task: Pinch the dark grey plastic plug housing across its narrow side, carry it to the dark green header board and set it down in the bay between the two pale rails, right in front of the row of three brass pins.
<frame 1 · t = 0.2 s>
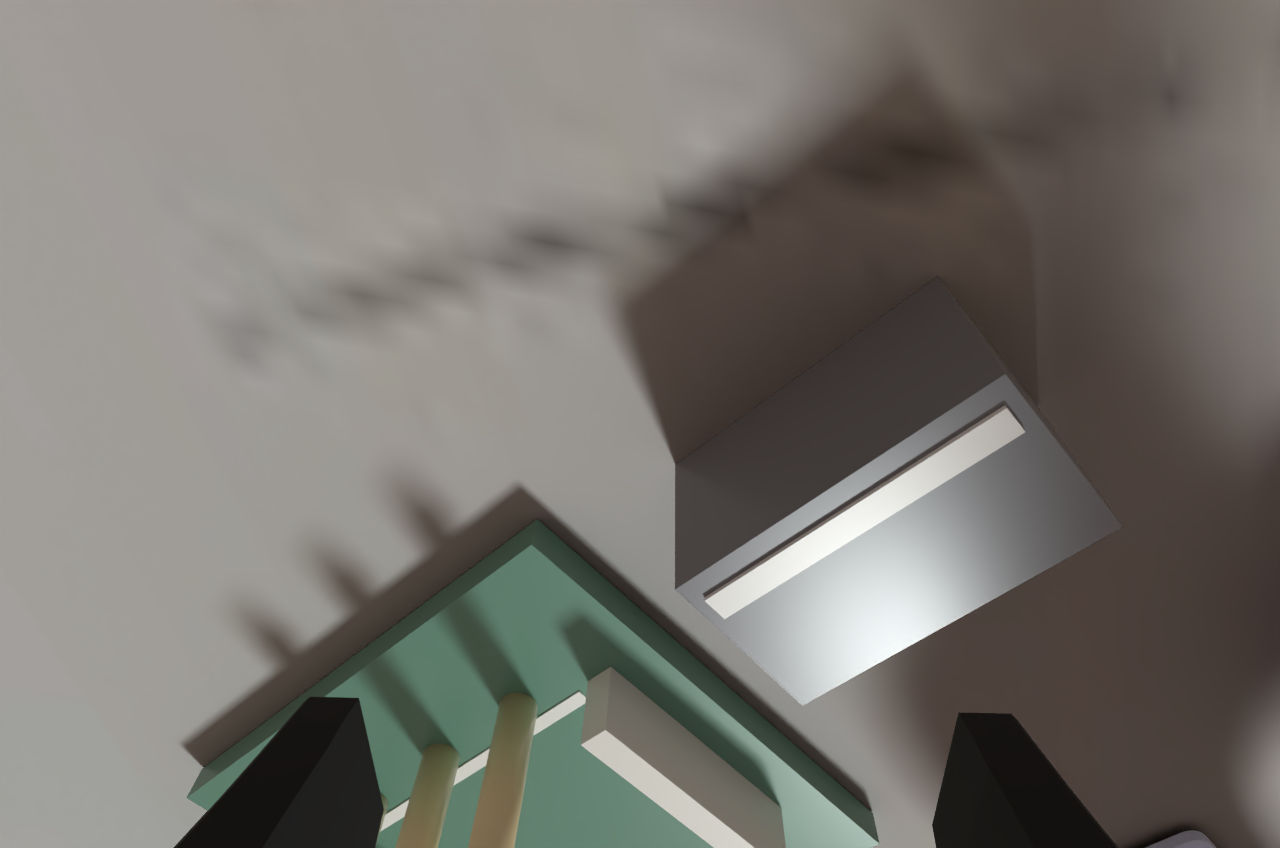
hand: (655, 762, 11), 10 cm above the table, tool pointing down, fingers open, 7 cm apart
header board: (537, 791, 27), on the table
plug housing: (851, 433, 20), on the table
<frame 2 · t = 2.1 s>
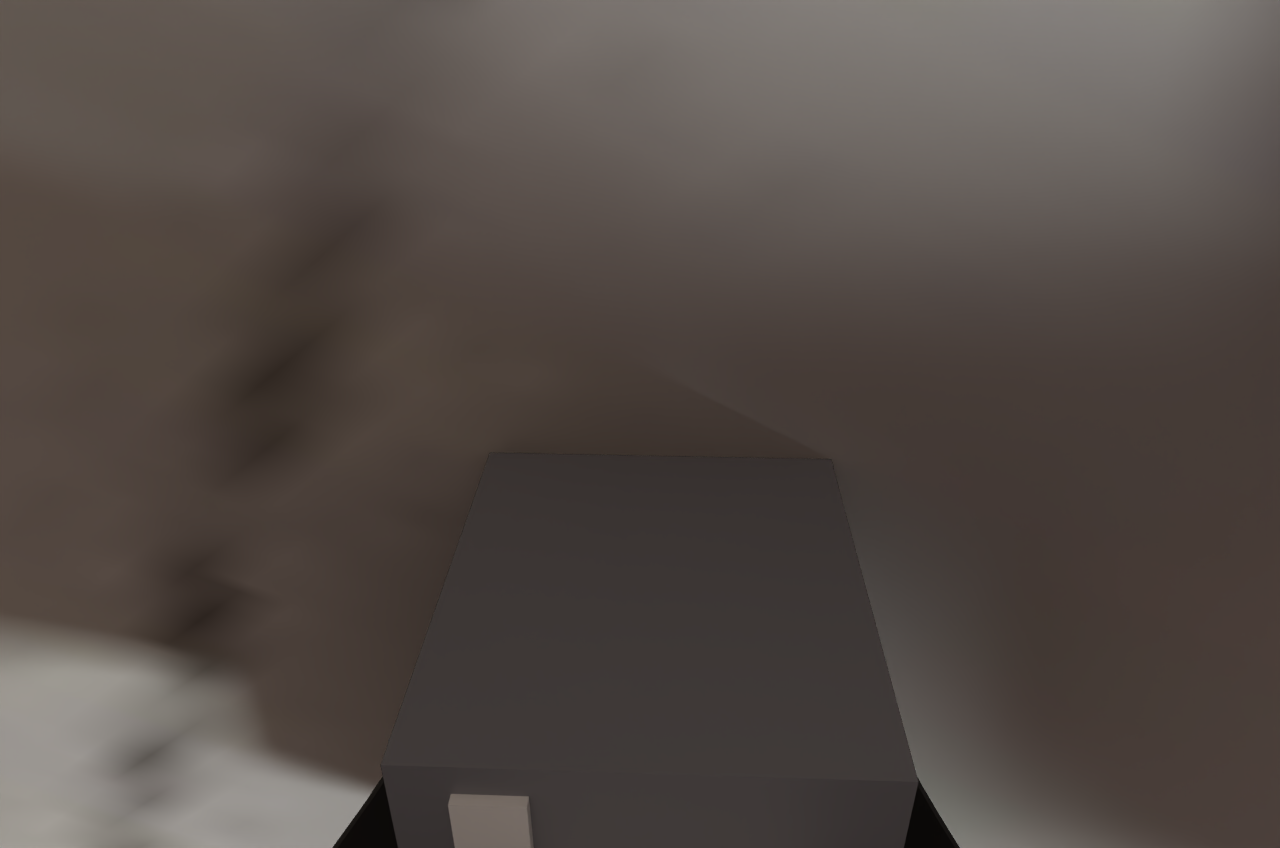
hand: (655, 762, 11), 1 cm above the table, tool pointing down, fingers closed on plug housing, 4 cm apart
plug housing: (657, 673, 12), on the table, touching gripper
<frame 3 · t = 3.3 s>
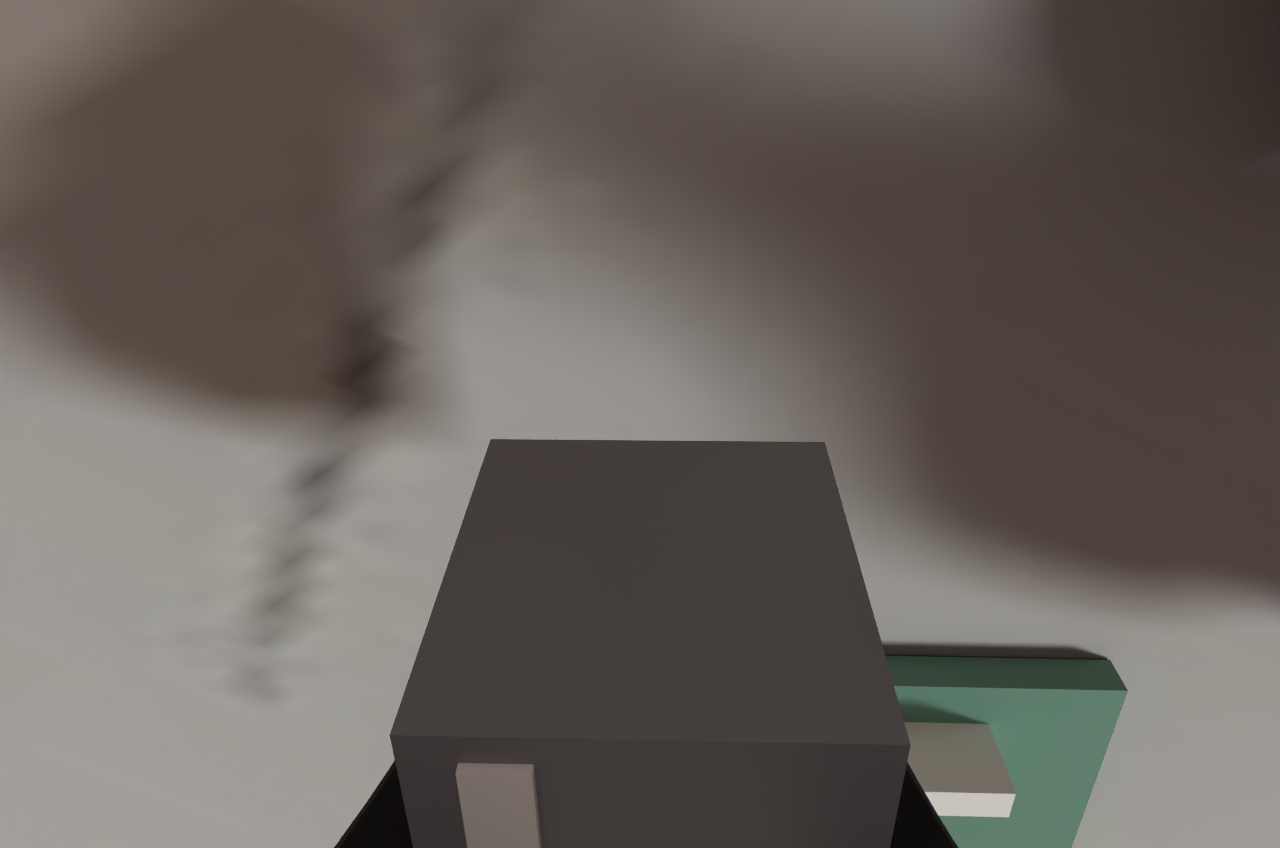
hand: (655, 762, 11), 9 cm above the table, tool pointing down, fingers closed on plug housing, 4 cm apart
header board: (799, 836, 26), on the table
plug housing: (656, 657, 13), point 7 cm above the table, touching gripper
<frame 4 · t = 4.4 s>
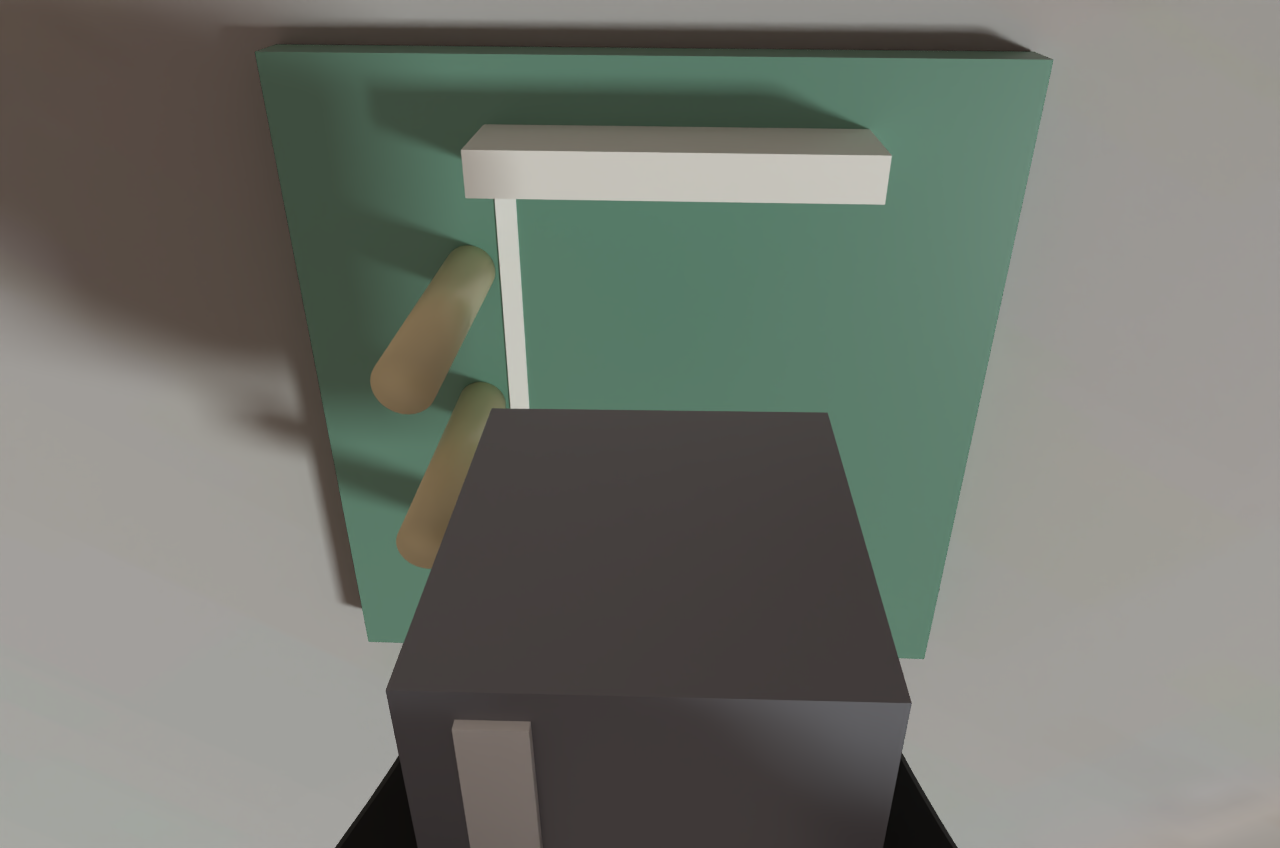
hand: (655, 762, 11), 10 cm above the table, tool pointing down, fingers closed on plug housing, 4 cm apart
header board: (647, 384, 20), on the table
plug housing: (657, 631, 13), point 9 cm above the table, touching gripper
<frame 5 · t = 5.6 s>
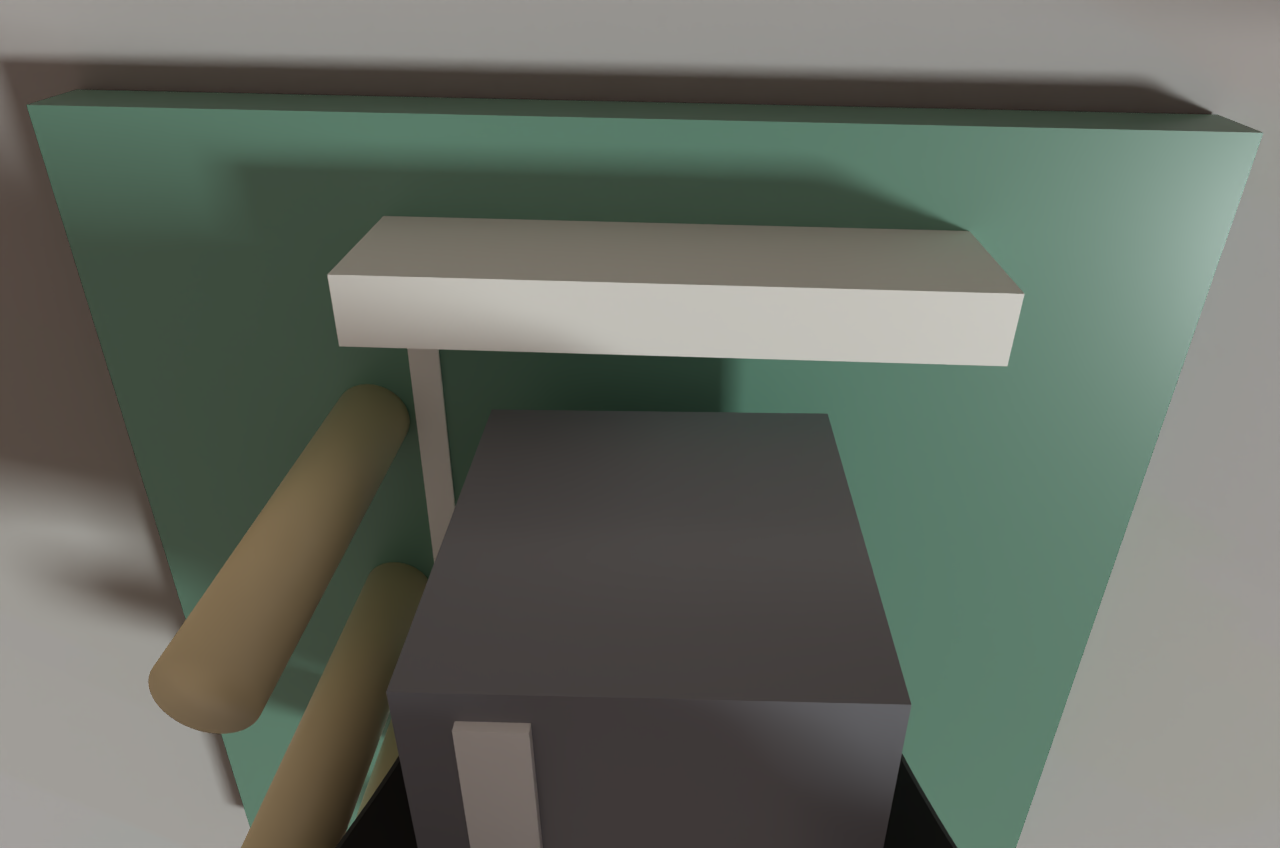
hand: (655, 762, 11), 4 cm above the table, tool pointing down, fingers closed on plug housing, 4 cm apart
header board: (631, 555, 15), on the table
plug housing: (657, 632, 13), point 2 cm above the table, touching gripper
when the fingers open (3 cm above the table, at t = 6.6 s): plug housing stays where it is, resting on header board.
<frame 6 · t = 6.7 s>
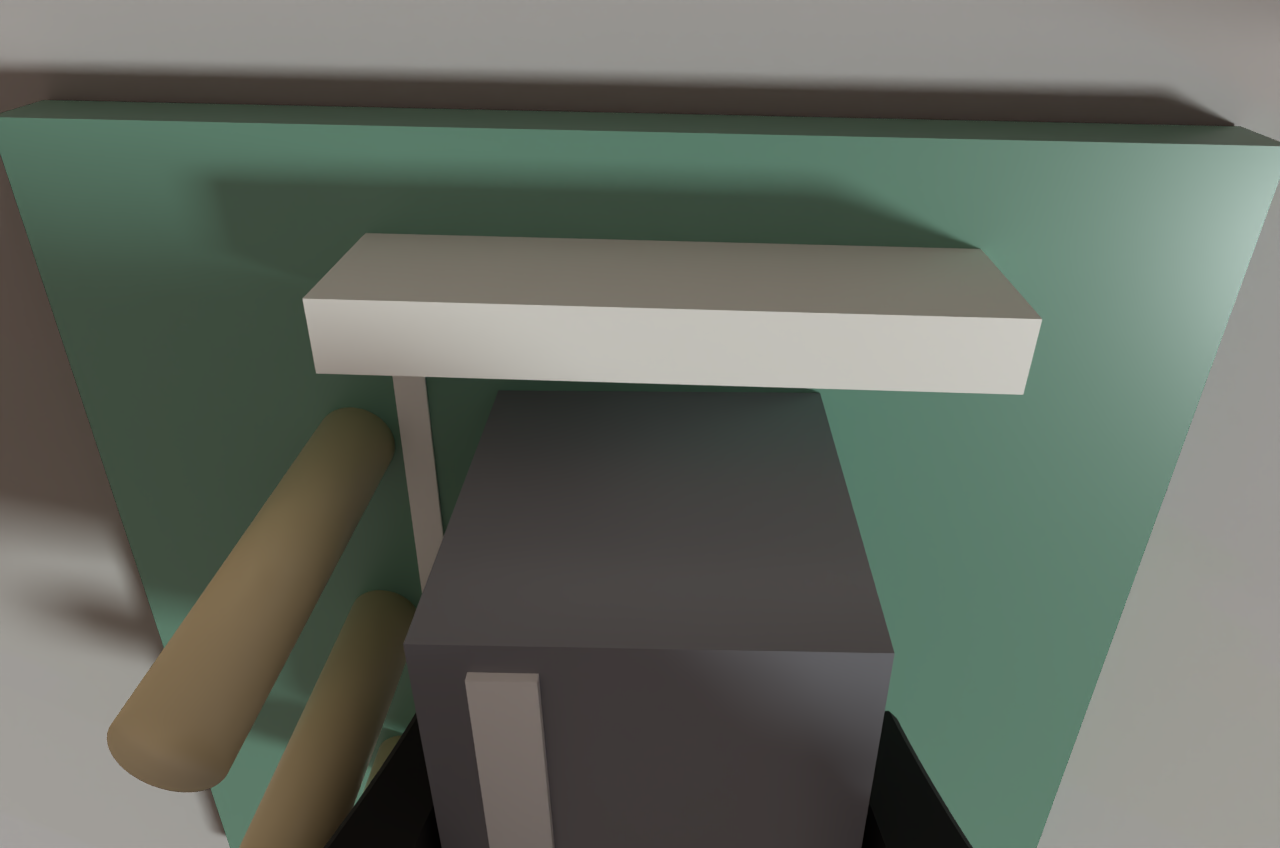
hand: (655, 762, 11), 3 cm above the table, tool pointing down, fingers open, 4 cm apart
header board: (627, 581, 14), on the table
plug housing: (658, 607, 13), point 1 cm above the table, touching header board
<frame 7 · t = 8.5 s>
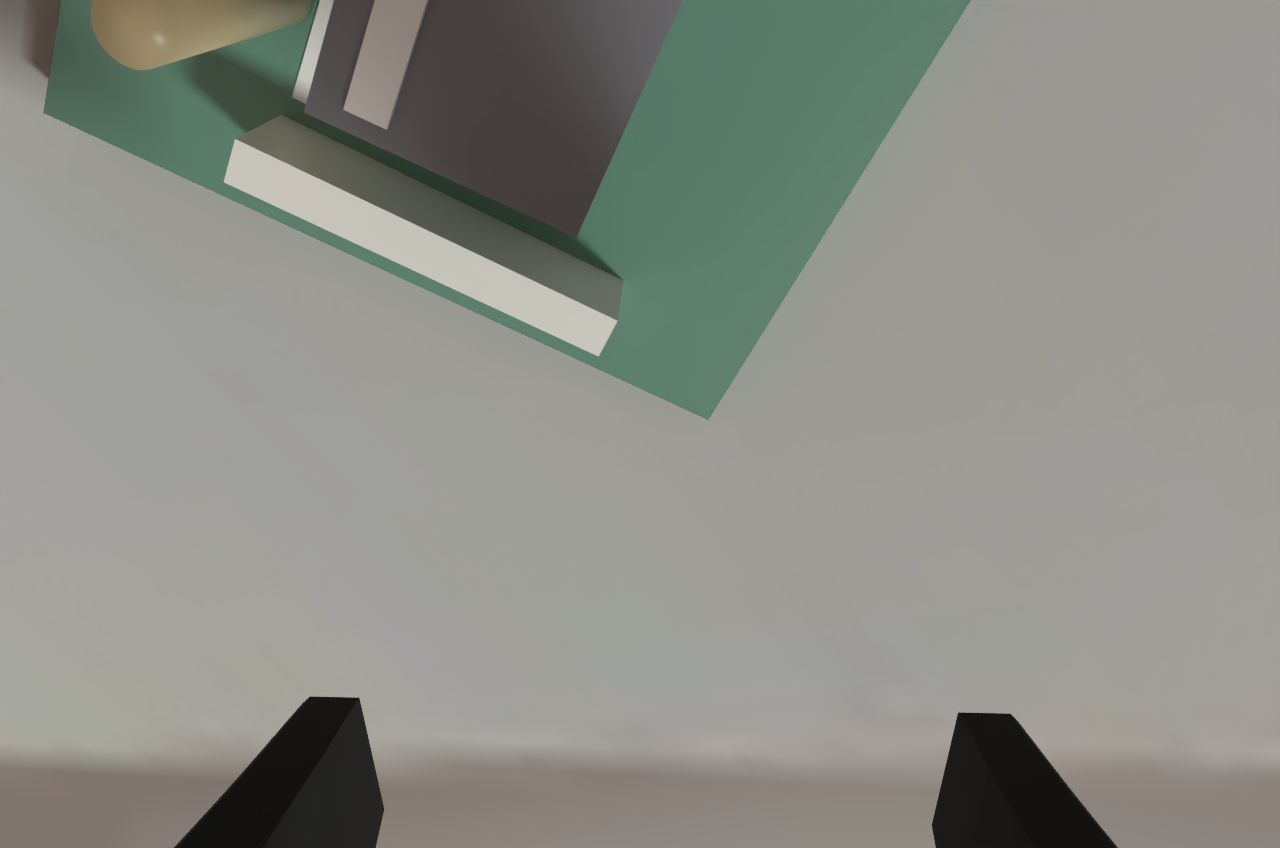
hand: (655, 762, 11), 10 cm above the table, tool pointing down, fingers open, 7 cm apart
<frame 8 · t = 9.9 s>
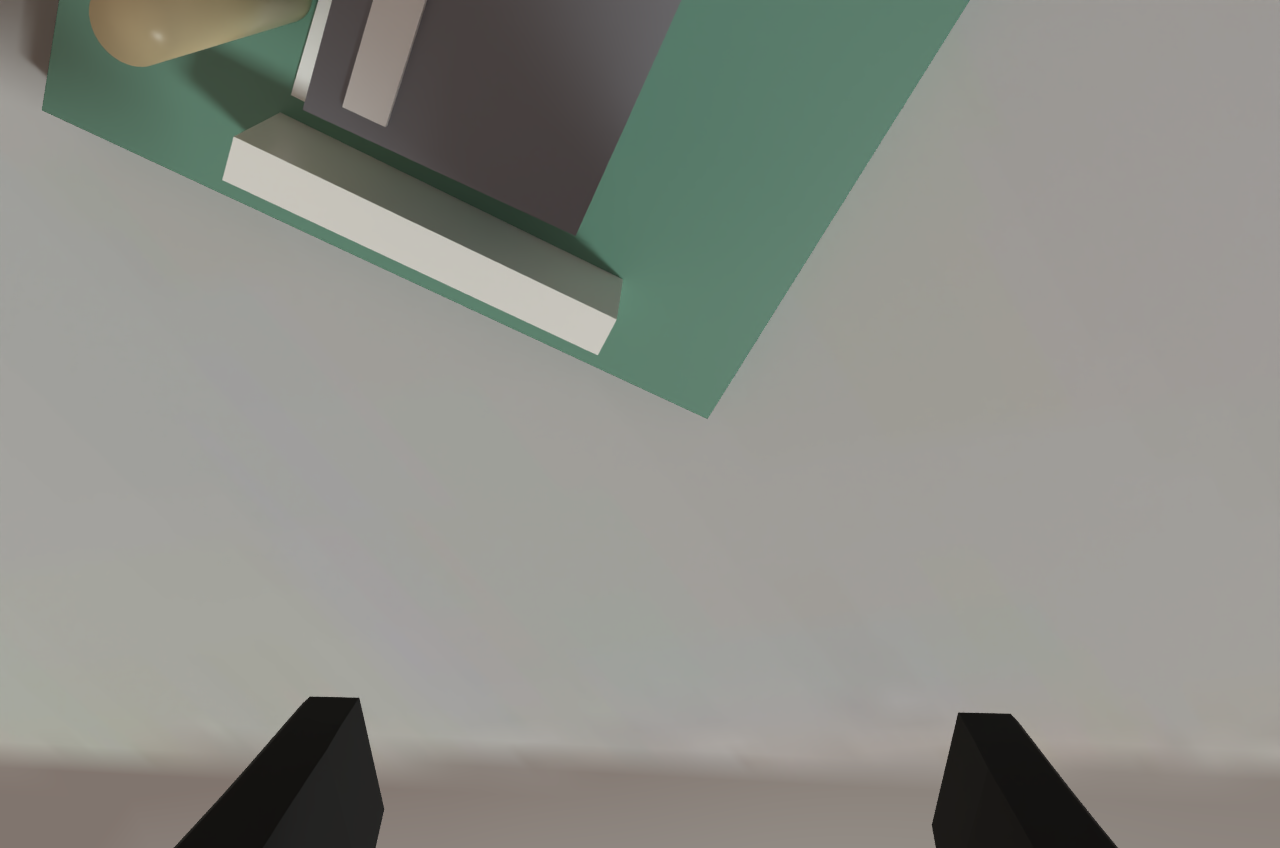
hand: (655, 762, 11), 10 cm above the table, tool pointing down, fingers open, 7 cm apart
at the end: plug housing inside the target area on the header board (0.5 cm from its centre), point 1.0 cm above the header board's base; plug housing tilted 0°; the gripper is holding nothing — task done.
